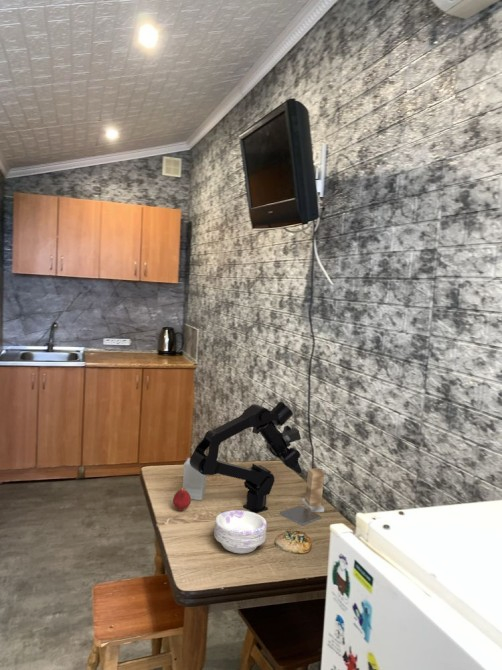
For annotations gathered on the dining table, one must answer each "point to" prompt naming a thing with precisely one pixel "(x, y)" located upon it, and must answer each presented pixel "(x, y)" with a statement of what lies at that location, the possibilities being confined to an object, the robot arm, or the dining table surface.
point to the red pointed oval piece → (181, 499)
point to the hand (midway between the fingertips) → (295, 468)
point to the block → (314, 490)
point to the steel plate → (300, 515)
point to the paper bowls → (240, 530)
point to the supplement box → (193, 481)
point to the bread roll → (294, 542)
